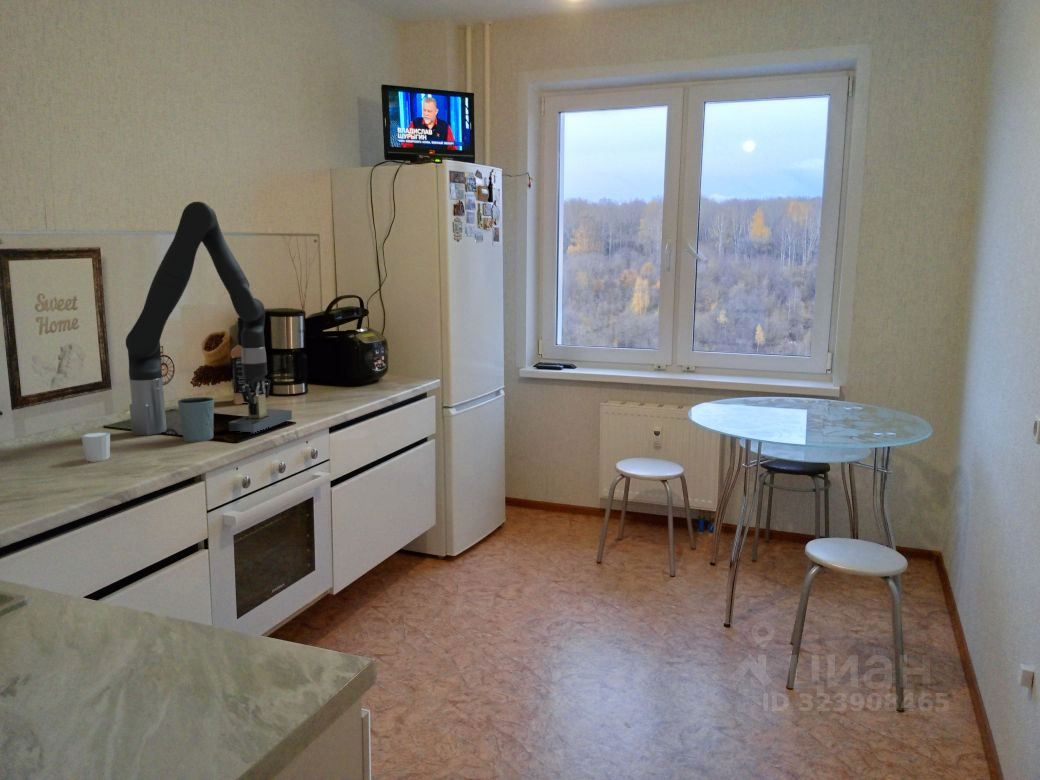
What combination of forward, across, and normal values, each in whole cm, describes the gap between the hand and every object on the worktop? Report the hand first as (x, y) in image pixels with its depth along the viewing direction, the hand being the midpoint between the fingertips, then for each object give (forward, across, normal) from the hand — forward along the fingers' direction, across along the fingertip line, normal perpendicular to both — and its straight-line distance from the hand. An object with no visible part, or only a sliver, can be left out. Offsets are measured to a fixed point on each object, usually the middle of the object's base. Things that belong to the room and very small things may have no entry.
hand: (257, 413), depth 252 cm
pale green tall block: (+2, 0, 0) cm, 2 cm away
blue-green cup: (+5, -19, +8) cm, 21 cm away
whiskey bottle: (+5, +36, +28) cm, 46 cm away
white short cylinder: (+5, -47, +19) cm, 51 cm away
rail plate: (+4, +2, 0) cm, 5 cm away
